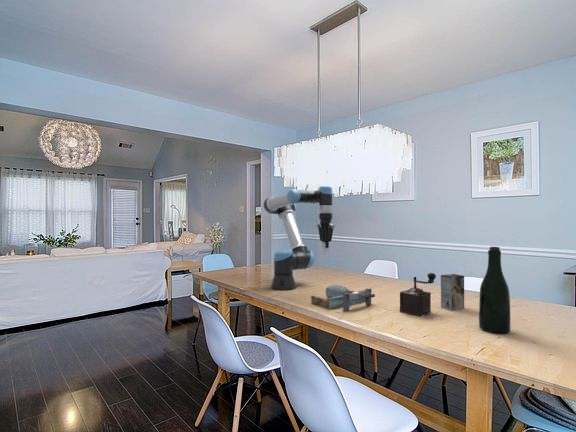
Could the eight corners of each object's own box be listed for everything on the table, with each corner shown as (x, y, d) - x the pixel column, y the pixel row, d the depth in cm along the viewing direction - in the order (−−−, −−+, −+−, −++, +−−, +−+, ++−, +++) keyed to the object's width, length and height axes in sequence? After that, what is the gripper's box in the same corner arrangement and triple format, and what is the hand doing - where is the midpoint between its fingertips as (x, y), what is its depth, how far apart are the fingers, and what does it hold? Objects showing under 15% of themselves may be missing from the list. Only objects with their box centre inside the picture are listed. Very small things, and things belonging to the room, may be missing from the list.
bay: (311, 302, 167) (311, 293, 167) (345, 295, 182) (345, 286, 182) (330, 309, 155) (330, 298, 155) (365, 300, 170) (365, 291, 170)
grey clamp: (342, 309, 154) (342, 293, 154) (370, 302, 167) (370, 287, 167) (347, 311, 151) (347, 294, 151) (376, 304, 164) (376, 288, 164)
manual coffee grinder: (421, 317, 143) (421, 276, 143) (399, 311, 152) (399, 273, 152) (437, 310, 153) (438, 272, 153) (415, 305, 162) (416, 269, 162)
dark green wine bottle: (515, 331, 126) (515, 247, 126) (502, 336, 120) (502, 248, 120) (487, 323, 135) (487, 245, 135) (473, 328, 129) (473, 246, 129)
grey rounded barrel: (356, 295, 170) (347, 279, 168) (347, 306, 163) (338, 290, 162) (336, 296, 180) (328, 281, 178) (328, 307, 173) (319, 292, 172)
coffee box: (453, 305, 163) (453, 273, 162) (464, 308, 157) (464, 275, 157) (440, 307, 159) (440, 274, 159) (451, 311, 153) (451, 277, 153)
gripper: (313, 212, 190) (313, 252, 190) (327, 212, 179) (327, 255, 179) (323, 212, 194) (323, 252, 194) (338, 212, 183) (338, 254, 183)
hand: (325, 253), depth 186 cm, fingers closed
